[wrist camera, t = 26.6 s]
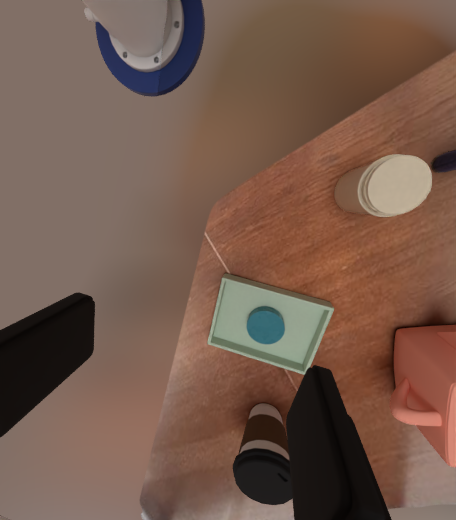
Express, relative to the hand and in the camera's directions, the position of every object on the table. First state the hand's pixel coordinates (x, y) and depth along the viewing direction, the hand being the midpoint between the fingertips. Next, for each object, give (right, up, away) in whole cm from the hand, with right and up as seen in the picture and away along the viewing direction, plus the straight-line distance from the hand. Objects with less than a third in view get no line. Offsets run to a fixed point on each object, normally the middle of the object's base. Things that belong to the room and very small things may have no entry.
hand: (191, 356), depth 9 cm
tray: (+9, -7, +31) cm, 33 cm away
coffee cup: (+10, -29, +37) cm, 48 cm away
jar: (+21, +14, +23) cm, 34 cm away
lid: (+8, -8, +29) cm, 32 cm away
